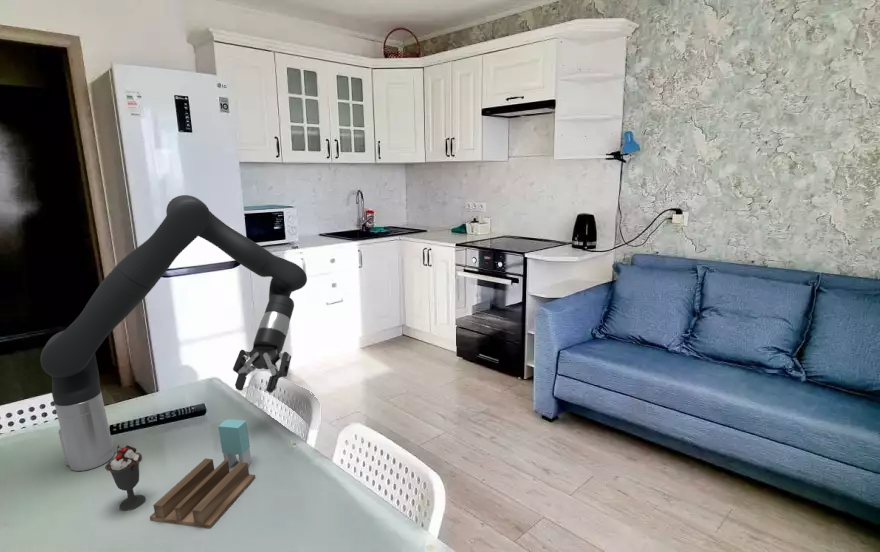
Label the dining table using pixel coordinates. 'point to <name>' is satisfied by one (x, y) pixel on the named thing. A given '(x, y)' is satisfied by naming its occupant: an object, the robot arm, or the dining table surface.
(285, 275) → the robot arm
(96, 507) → the dining table surface
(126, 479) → the sundae
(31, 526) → the dining table surface
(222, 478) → the rail
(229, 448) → the aqua box with feet
